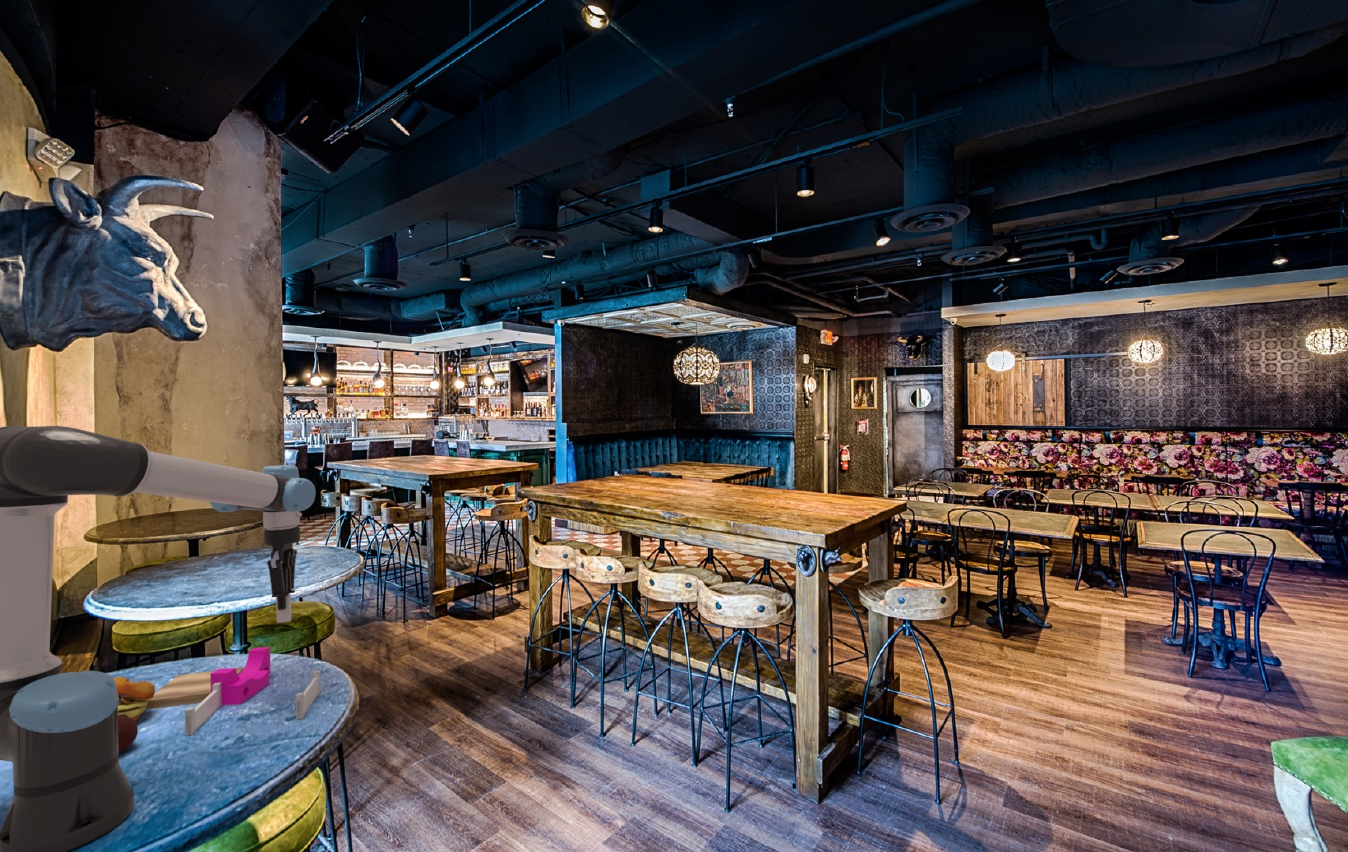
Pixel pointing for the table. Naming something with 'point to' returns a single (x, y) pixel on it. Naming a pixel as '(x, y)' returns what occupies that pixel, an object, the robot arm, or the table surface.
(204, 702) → the grey bracket pieces
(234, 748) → the table surface
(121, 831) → the table surface
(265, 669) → the toy block
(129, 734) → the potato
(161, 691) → the board
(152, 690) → the cheeseburger
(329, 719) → the table surface
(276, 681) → the table surface
